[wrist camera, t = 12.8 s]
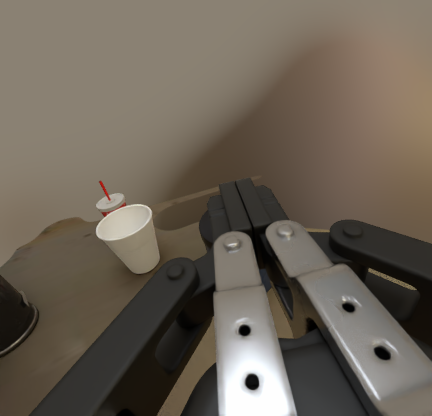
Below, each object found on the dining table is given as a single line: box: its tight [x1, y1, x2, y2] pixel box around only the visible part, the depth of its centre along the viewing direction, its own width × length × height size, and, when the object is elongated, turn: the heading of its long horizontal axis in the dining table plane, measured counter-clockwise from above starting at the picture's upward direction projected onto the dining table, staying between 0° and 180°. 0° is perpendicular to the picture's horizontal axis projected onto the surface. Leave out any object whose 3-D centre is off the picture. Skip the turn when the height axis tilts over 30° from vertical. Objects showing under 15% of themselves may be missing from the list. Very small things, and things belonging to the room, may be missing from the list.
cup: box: [96, 204, 160, 274], centre depth 47 cm, size 10×10×11 cm
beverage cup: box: [96, 181, 126, 217], centre depth 56 cm, size 6×6×14 cm
